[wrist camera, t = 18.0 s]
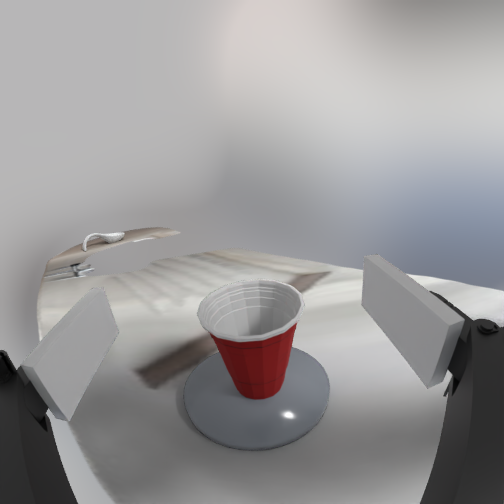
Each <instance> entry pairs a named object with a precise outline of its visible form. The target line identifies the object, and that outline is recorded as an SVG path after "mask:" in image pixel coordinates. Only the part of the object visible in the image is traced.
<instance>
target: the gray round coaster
mask: <svg viewBox="0 0 504 504" xmlns="http://www.w3.org/2000/svg"><path fill="white" fill-rule="evenodd" d="M329 390H330V385H329V379H328V376H327V373H326V372H325V370H324V368H323V367H322V365H321V364H320V363H319V362H318V361H317V360H316V359H315V358H313V357H312V356H311V355H309V354H307V353H305V352H304V351H301V350H299V349H297V348H293V347H291V352H290V357H289V362H288V366H287V368H286V373H285V378H284V382H283V384H282V386H281V389H280V391H279V392H277V393H276V394H275V395H274V396H272V397H269V398H266V399H258V400H254V399H250V398H246V397H245V396H243V395H242V394H240V393H239V391H238V390H237V388H236V386H235V385H234V382H233V380H232V378H231V376H230V374H229V372H228V370H227V368H226V366H225V364H224V361H223V359H222V357H221V354H220V352H218V353H216V354H214V355H212V356H210V357H209V358H207V359H206V360H204V361H203V362H202V363H200V364H199V365H198V366H197V367H196V368H195V369H194V370H193V372H192V373H191V374H190V376H189V377H188V380H187V382H186V384H185V388H184V395H183V396H184V404H185V407H186V410H187V412H188V415H189V417H190V419H191V421H192V423H193V424H194V425H195V427H196V428H197V429H198V430H199V431H200V432H201V433H202V434H203V435H205V436H206V437H207V438H209V439H210V440H212V441H214V442H216V443H218V444H221V445H224V446H226V447H230V448H234V449H239V450H251V451H252V450H266V449H272V448H277V447H280V446H283V445H286V444H289V443H291V442H293V441H295V440H297V439H299V438H301V437H302V436H304V435H305V434H306V433H308V432H309V431H310V430H311V429H312V428H313V427H314V426H315V425H316V424H317V423H318V422H319V421H320V419H321V418H322V416H323V414H324V412H325V410H326V407H327V404H328V399H329Z"/></svg>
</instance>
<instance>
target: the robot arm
mask: <svg viewBox="0 0 504 504" xmlns="http://www.w3.org/2000/svg"><path fill="white" fill-rule="evenodd" d="M361 305H362V306H363V308H364V309H365V310H366V311H367V312H368V314H369V315H370V316H371V317H372V318H373V320H374V321H375V322H376V323H377V325H378V326H379V327H380V328H381V329H382V331H383V332H384V333H385V334H386V336H387V337H388V338H389V339H390V341H391V342H392V343H393V344H394V346H395V347H396V348H397V349H398V351H399V352H400V353H401V355H402V356H403V357H404V358H405V360H406V361H407V362H408V364H409V365H410V366H411V368H412V369H413V370H414V371H415V373H416V374H417V375H418V377H419V378H420V379H421V381H422V382H423V383H424V385H425V386H426V387H427V389H428V388H430V387H432V386H434V385H436V384H439V383H441V382H443V380H444V377H445V375H446V372H447V370H449V371H450V372H451V374H452V378H451V380H450V382H449V384H448V386H447V389H446V391H445V393H444V395H443V396H445V397H446V395H447V393H448V400H447V406H446V412H445V418H444V423H443V428H442V433H441V438H440V442H439V446H438V450H437V454H436V457H435V461H434V464H433V468H432V471H431V474H430V477H429V480H428V483H427V486H426V489H425V492H424V494H423V497H422V499H421V502H420V504H504V327H501V328H499V326H498V325H497V324H496V323H494V322H492V321H490V320H487V319H477V320H474V321H473V320H472V319H471V318H469V317H468V316H467V315H466V314H464V313H463V312H462V311H460V310H459V309H458V308H457V307H454V305H453V304H451V303H450V302H448V301H447V300H446V299H445V298H444V297H442V296H441V295H439V294H437V293H434V292H432V291H428V290H427V289H425V288H424V287H423V286H421V285H420V284H419V283H417V282H416V281H414V280H413V279H412V278H410V277H409V276H408V275H406V274H405V273H403V272H402V271H401V270H399V269H397V268H396V267H395V266H394V265H392V264H391V263H389V262H387V261H386V260H385V259H384V258H382V257H381V256H379V255H378V254H375V255H368V256H364V272H363V290H362V304H361ZM118 334H119V330H118V327H117V325H116V322H115V319H114V316H113V314H112V311H111V308H110V305H109V302H108V299H107V296H106V293H105V289H104V287H98V288H92V289H91V290H90V291H89V292H88V293H87V294H86V295H85V296H84V297H83V298H81V299H80V300H79V301H78V302H77V303H76V305H75V306H74V307H73V308H72V309H71V310H70V311H69V312H68V313H67V314H66V315H65V316H64V317H63V318H62V319H61V320H60V321H59V322H58V323H57V324H56V325H55V326H54V327H53V328H52V330H51V331H50V332H49V333H48V334H47V335H46V336H45V337H44V338H43V339H42V341H41V342H40V343H39V344H38V345H37V346H36V347H35V349H34V350H33V351H32V352H31V353H30V354H29V355H28V357H27V358H26V359H25V360H24V361H23V363H22V364H21V366H20V367H19V368H18V369H17V370H16V368H15V367H14V365H13V363H12V361H11V360H10V358H9V356H8V354H7V352H5V351H4V350H0V504H78V503H77V500H76V498H75V496H74V493H73V491H72V489H71V486H70V484H69V481H68V479H67V476H66V473H65V471H64V468H63V465H62V462H61V459H60V455H59V452H58V450H57V446H56V442H55V438H54V435H53V431H52V427H51V422H50V419H49V417H48V416H47V415H46V412H47V410H48V408H49V409H50V411H51V412H52V413H53V415H54V416H55V417H56V418H57V419H61V420H65V421H69V422H70V420H71V418H72V416H73V414H74V412H75V410H76V408H77V406H78V404H79V402H80V400H81V398H82V396H83V395H84V393H85V391H86V389H87V387H88V385H89V384H90V382H91V380H92V378H93V376H94V375H95V373H96V371H97V369H98V368H99V366H100V364H101V362H102V361H103V359H104V357H105V355H106V354H107V352H108V350H109V349H110V347H111V345H112V344H113V342H114V340H115V339H116V337H117V335H118Z"/></svg>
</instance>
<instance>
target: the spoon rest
mask: <svg viewBox="0 0 504 504" xmlns="http://www.w3.org/2000/svg"><path fill="white" fill-rule="evenodd" d="M124 234H125V233H112V234H98V233H93V234H90V235H88V236H87V237H86V238H85V240H84V242H83V250H84V251H87V249H86V243H87V241H88V239H90V238H91V237H93V236H97V237H100V238H101V239H103V240H104V241H106V242H108V243H115V242H118V241H120V240H121V239H122V238H123V236H124Z"/></svg>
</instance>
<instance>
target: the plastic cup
mask: <svg viewBox="0 0 504 504" xmlns="http://www.w3.org/2000/svg"><path fill="white" fill-rule="evenodd" d="M304 307H305V303H304V300H303V297H302V294H301V293H300V292H299V291H298V290H296V289H295V288H294V287H293V286H291V285H288V284H285V283H283V282H280V281H276V280H265V279H254V280H243V281H238V282H235V283H231V284H228V285H224V286H222V287H220V288H219V289H217V290H215V291H213V292H211V293H210V294H209V295H208V296H207V297H206V298H205V299H204V300H203V301H202V302H201V303H200V305H199V309H198V312H197V316H198V318H199V320H200V323H201V325H202V327H203V328H204V329H205V330H207V331H208V332H209V333H210V335H211V337H212V338H213V339H214V341H215V343H216V345H217V347H218V350H219V352H220V354H221V357H222V359H223V361H224V364H225V366H226V368H227V370H228V372H229V374H230V376H231V378H232V380H233V382H234V385H235V386H236V388H237V390H238V391H239V393H240V394H242V395H243V396H245V397H246V398H250V399H254V400H258V399H266V398H269V397H272V396H274V395H275V394H276V393H277V392H279V391H280V389H281V386H282V384H283V382H284V378H285V373H286V368H287V366H288V362H289V357H290V352H291V347H292V342H293V337H294V332H295V329H296V325H297V322H298V321H299V319H300V317H301V314H302V312H303V309H304Z"/></svg>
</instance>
